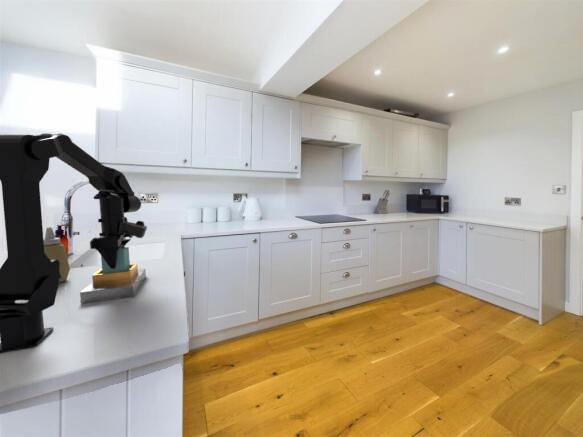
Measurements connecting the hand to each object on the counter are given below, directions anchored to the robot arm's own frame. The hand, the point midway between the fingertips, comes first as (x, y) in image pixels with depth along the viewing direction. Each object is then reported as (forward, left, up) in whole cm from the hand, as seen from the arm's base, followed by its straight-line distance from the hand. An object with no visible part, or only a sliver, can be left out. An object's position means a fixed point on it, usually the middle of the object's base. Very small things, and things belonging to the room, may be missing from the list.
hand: (116, 265), depth 75 cm
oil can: (0, 0, -3) cm, 3 cm away
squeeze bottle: (+14, +21, -7) cm, 26 cm away
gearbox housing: (0, 0, -7) cm, 7 cm away
